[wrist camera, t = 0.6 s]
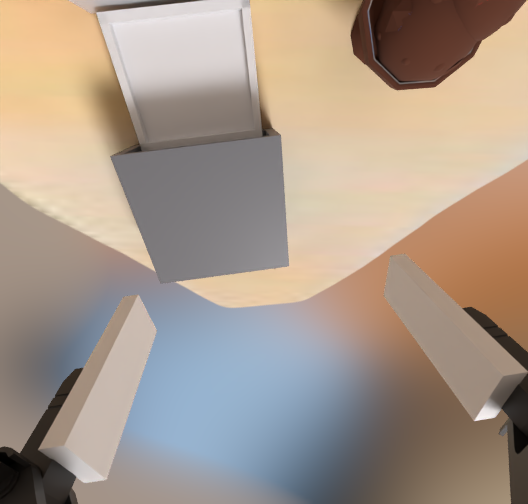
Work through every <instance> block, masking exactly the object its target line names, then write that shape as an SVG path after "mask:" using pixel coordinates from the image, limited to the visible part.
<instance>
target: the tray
mask: <svg viewBox="0 0 528 504" xmlns="http://www.w3.org/2000/svg"><path fill="white" fill-rule="evenodd" d="M69 1H70V2H72V3H74V4H75V5H77V6H79V7H81V8H82V9H84V10H86V11H87V12H89V13H96V14H97V17H98V20H99V23H100V26H101V29H102V32H103V35H104V38H105V41H106V44H107V47H108V50H109V53H110V56H111V59H112V62H113V65H114V68H115V71H116V74H117V77H118V80H119V83H120V86H121V89H122V92H123V95H124V98H125V101H126V104H127V107H128V110H129V113H130V116H131V119H132V123H133V126H134V129H135V132H136V135H137V138H138V141H139V144H140V147H141V150H142V151H148V150H156V149H164V148H172V147H180V146H189V145H197V144H205V143H213V142H221V141H229V140H237V139H245V138H253V137H261V136H263V135H262V125H261V114H260V104H259V94H258V83H257V73H256V62H255V52H254V42H253V31H252V21H251V11H250V0H69Z"/></svg>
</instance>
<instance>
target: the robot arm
mask: <svg viewBox="0 0 528 504" xmlns="http://www.w3.org/2000/svg"><path fill="white" fill-rule="evenodd" d="M384 297H385V298H386V300H387V301H388V302H389V304H390V305H391V307H392V308H393V309H394V311H395V312H396V313H397V315H398V316H399V318H400V319H401V320H402V322H403V323H404V325H405V326H406V327H407V329H408V330H409V331H410V333H411V334H412V335H413V337H414V338H415V340H416V341H417V343H418V344H419V345H420V347H421V348H422V350H423V351H424V352H425V353H426V355H427V356H428V358H429V359H430V361H431V362H432V363H433V365H434V366H435V367H436V369H437V370H438V372H439V373H440V374H441V376H442V377H443V379H444V380H445V381H446V383H447V384H448V386H449V387H450V388H451V390H452V391H453V392H454V394H455V395H456V397H457V398H458V399H459V400H460V402H461V404H462V405H463V406H464V408H465V409H466V410H467V412H468V413H469V414H470V416H471V417H472V419H473V420H474V421H477V420H483V419H489V418H495V417H496V416H497V414H498V413H499V412H500V410H501V409H503V411H504V412H505V413H506V414H507V415H508V417H509V419H508V420H507V421H506V422H505V424H504V425H503V426H502V428H501V429H500V432H499V434H500V435H502V436H504V434H505V433H506V432H507V433H508V450H509V451H508V452H509V472H510V491H511V504H528V352H527V351H526V350H524V349H523V348H522V347H521V346H520V345H519V344H518V343H516V341H514V340H513V339H512V338H511V337H510V336H509V337H508V336H507V334H506V333H505V332H504V331H503V330H502V329H501V328H498V326H497V325H496V324H495V323H494V322H493V321H492V320H491V319H490V318H488V317H487V316H486V315H485V314H483V313H481V312H479V311H478V310H476V309H474V308H472V307H467V308H461V307H460V306H459V305H458V304H457V303H456V302H455V301H454V300H453V299H451V297H449V295H447V294H446V293H445V292H444V291H443V290H442V289H441V288H440V287H439V286H438V285H437V284H436V283H435V282H434V281H433V280H432V279H431V278H430V277H429V276H428V275H426V273H425V272H423V271H422V270H421V269H420V268H419V267H418V266H417V265H416V264H415V263H414V262H413V261H412V260H411V259H410V258H409V257H408V256H407V255H406V254H400V255H394V256H390V261H389V267H388V273H387V279H386V285H385V291H384ZM156 332H157V330H156V328H155V326H154V324H153V322H152V320H151V319H150V316H149V314H148V312H147V310H146V309H145V307H144V305H143V303H142V301H141V299H140V297H139V295H132V296H126V297H123V299H122V300H121V302H120V304H119V306H118V308H117V309H116V311H115V313H114V315H113V317H112V318H111V320H110V322H109V324H108V326H107V328H106V329H105V331H104V333H103V335H102V336H101V338H100V340H99V342H98V343H97V345H96V347H95V349H94V351H93V352H92V354H91V356H90V358H89V359H88V361H87V363H86V365H85V367H84V368H80V369H75V370H74V371H73V372H72V373H71V374H70V375H69V376H68V377H67V378H66V379H65V380H64V382H63V383H62V385H61V386H60V388H59V390H58V391H57V393H56V395H55V398H53V400H52V401H51V403H50V405H49V406H48V410H46V411H45V413H44V414H43V416H42V418H41V419H40V421H39V423H38V424H37V426H36V428H35V429H34V431H33V433H32V434H31V436H30V438H29V439H28V441H27V443H26V444H25V446H24V448H23V449H22V451H21V453H20V454H19V453H18V452H16V451H15V450H13V449H12V448H9V447H1V448H0V504H78V502H77V498H76V495H75V492H74V491H73V489H72V486H73V483H74V481H75V479H76V477H77V478H78V479H80V480H81V481H82V482H84V483H89V482H96V481H102V480H107V477H108V473H109V471H110V468H111V465H112V462H113V458H114V456H115V453H116V450H117V447H118V444H119V441H120V438H121V435H122V432H123V429H124V427H125V424H126V421H127V417H128V415H129V412H130V409H131V406H132V403H133V400H134V397H135V394H136V391H137V388H138V385H139V382H140V379H141V376H142V373H143V370H144V367H145V364H146V362H147V359H148V356H149V353H150V350H151V347H152V343H153V341H154V338H155V335H156Z"/></svg>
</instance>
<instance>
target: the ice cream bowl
mask: <svg viewBox="0 0 528 504" xmlns="http://www.w3.org/2000/svg"><path fill="white" fill-rule="evenodd" d="M525 2H526V0H363V2H362V5H361V8H360V11H359V14H358V15H357V18H356V21H355V24H354V27H353V30H352V33H351V39H352V45H353V52H354V55H355V56H357V57H358V58H359V59H360V60H361V61H362V62H363V63H364V64H366V65H367V66H368V67H369V68H370V69H371V70H372V71H373V72H375V73H376V74H377V75H378V76H379V77H380V78H381V79H382V80H383V81H384V82H385V83H386V84H387V85H388V86H389V87H391V88H393V89H395V90H406V89H418V88H431V87H436V86H437V85H438V84H440V83H441V82H442V81H443V80H445V79H446V78H447V77H448V76H450V75H451V74H452V73H453V72H455V71H456V70H457V69H458V68H460V67H461V66H462V65H463V64H465V63H466V62H467V61H468V60H470V59H471V58H472V57H473V56H474V55H475V53H476V51H477V49H478V47H479V45H480V43H481V41H482V40H484V39H485V38H487V37H488V36H490V35H491V34H493V33H494V32H495V31H497V30H498V29H499V28H500V27H501V26H503V25H505V24H507V23H508V22H509V21H511V19H512V18H513V16H514V15H515V13H516V12H517V11H518V10H519V9H520V7H521V6H522V5H523V4H524V3H525Z"/></svg>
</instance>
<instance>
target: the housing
mask: <svg viewBox="0 0 528 504" xmlns="http://www.w3.org/2000/svg"><path fill="white" fill-rule="evenodd" d="M262 135H263V136H261V137H253V138H245V139H237V140H229V141H221V142H213V143H205V144H197V145H189V146H180V147H172V148H164V149H156V150H148V151H142V150H141V147H140V145H134V146H132V147H130V148H127V149H125V150H123V151H121V152H119V153H116V154H114V155H112V156H110V157H111V160H112V162H113V165H114V167H115V170H116V172H117V175H118V177H119V180H120V182H121V185H122V187H123V190H124V192H125V195H126V197H127V200H128V202H129V205H130V207H131V210H132V212H133V215H134V218H135V220H136V223H137V225H138V228H139V230H140V233H141V235H142V238H143V240H144V243H145V245H146V248H147V250H148V253H149V255H150V258H151V260H152V263H153V265H154V268H155V271H156V273H157V276H158V278H159V281H160V283H169V282H176V281H184V280H191V279H199V278H206V277H213V276H221V275H228V274H236V273H243V272H250V271H258V270H265V269H272V268H280V267H287V266H289V258H288V242H287V226H286V210H285V194H284V178H283V162H282V146H281V135H280V134H279V133H278V132H276V131H275V130H274V129H273V128H271V129H263V130H262Z"/></svg>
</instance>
